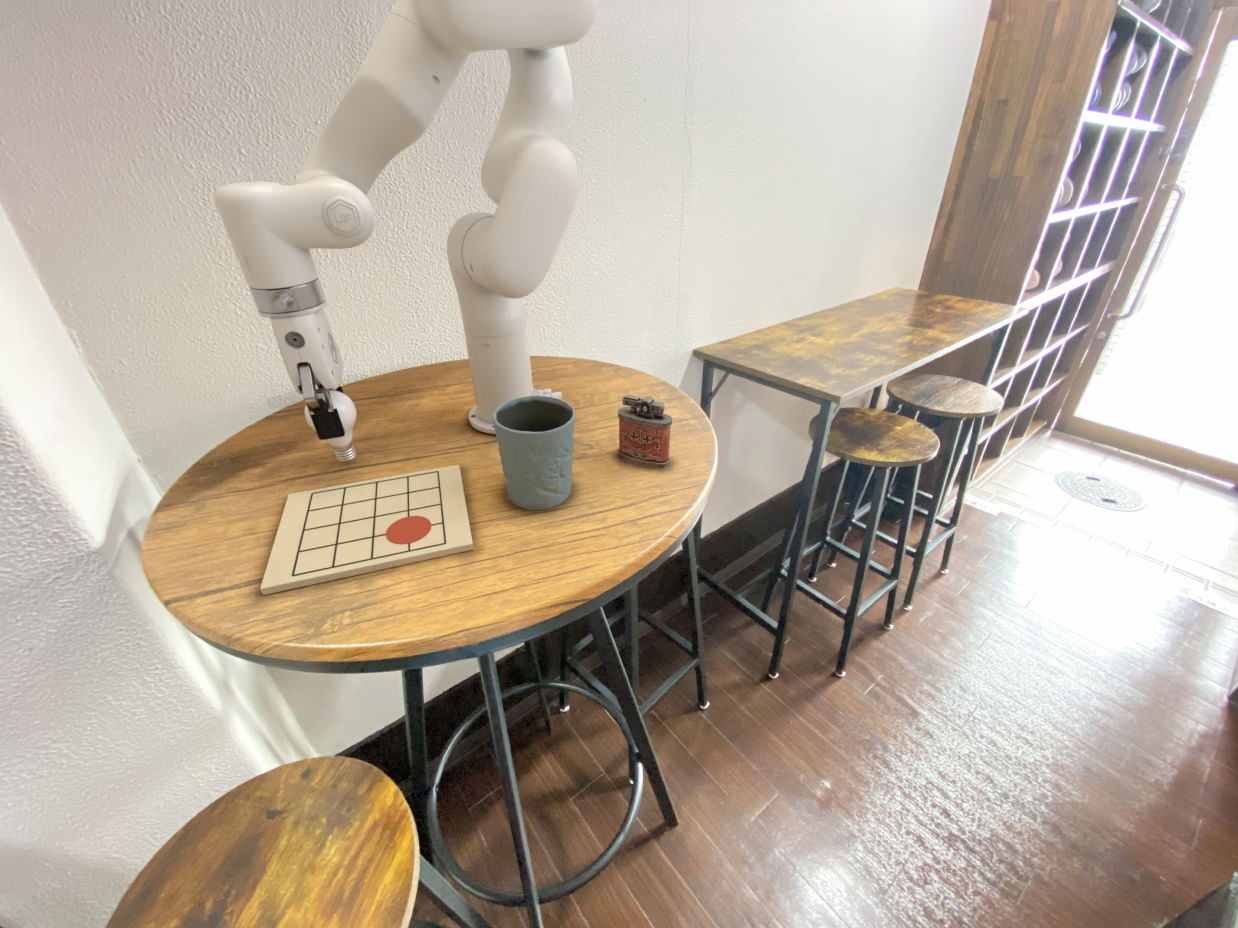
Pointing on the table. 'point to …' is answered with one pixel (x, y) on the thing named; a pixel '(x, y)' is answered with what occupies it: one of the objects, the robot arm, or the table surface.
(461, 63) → the robot arm
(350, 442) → the lightbulb
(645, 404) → the lighter
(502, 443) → the grey green cup
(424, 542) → the board
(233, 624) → the table surface
